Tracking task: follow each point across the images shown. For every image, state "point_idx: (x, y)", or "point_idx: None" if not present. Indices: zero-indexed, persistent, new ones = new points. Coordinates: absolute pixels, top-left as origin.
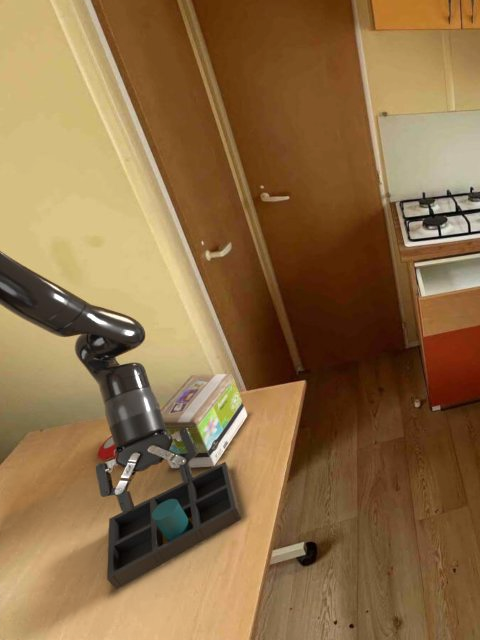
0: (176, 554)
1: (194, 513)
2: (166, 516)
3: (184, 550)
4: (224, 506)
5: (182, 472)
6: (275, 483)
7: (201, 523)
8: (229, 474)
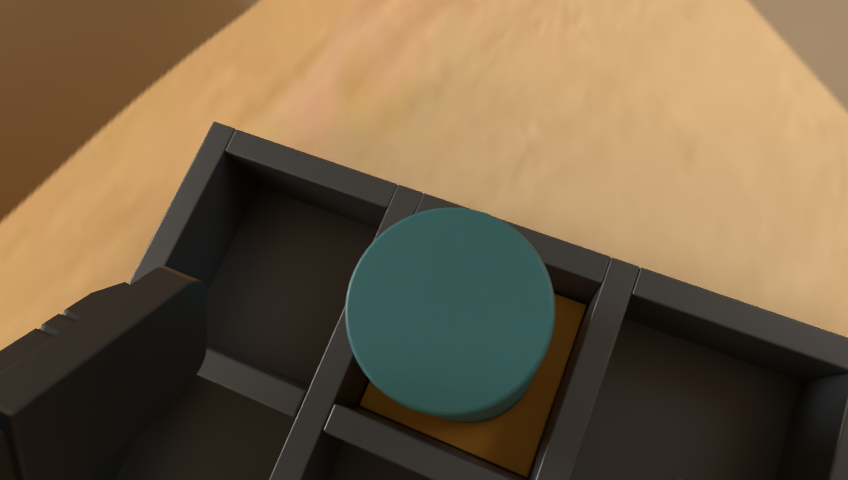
0: None
1: None
2: (477, 212)
3: None
4: (246, 302)
5: (69, 347)
6: (43, 201)
7: None
8: None
